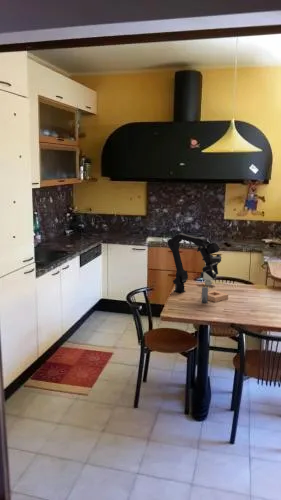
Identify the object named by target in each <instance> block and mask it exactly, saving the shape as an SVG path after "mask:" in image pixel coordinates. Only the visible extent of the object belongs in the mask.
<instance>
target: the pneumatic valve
mask: <svg viewBox="0 0 281 500" xmlns="http://www.w3.org/2000/svg"><path fill="white" fill-rule="evenodd" d="M212 271H213V270H212ZM213 275H214V279H213V278H211V277H210V276H209V275H208V274H207V273H205V272H203V271H201V272H200V278H201V279H202V280H204V285H205V286H212V284H213V282H212V281H215V279H217V275H218V274H216V273H215V272H214V271H213Z"/></svg>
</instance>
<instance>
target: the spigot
mask: <svg viewBox="0 0 281 500" xmlns="http://www.w3.org/2000/svg"><path fill="white" fill-rule="evenodd" d="M208 291H209V288H208V287H205V286H204V287H201V293H202V297H201V304H208V301H209V300H208Z"/></svg>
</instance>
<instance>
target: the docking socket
mask: <svg viewBox="0 0 281 500" xmlns="http://www.w3.org/2000/svg"><path fill="white" fill-rule="evenodd" d="M200 296H201V297H200V298H202V292H201V295H200ZM228 299H229V293H225V292H222V291H218V290H215V289H213V290H208V301H210V302H214V303H216V302H220V301H226V300H228Z"/></svg>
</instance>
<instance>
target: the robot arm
mask: <svg viewBox="0 0 281 500" xmlns="http://www.w3.org/2000/svg"><path fill="white" fill-rule="evenodd" d="M183 241H185V242H189V243H192V244H194V245H195V246H197V250H196V251H197V253H198V252H199V253H200V255H201V256H202V261H203V262H204V266H203V267H202V269H201V270H202V272H205V273H207V274H208V275H209V276H210V277H211V278H213V279H214V275H213V271H214V272H215V273H216V274H217V275H218V274H219V269H218V265H219V263H221V262H222V258H223V257H222V256H221V254H217V253H219V252H220V247H219V245H218V244H217V243H216V241H215V242H212V243H211V242H210V241H208V239H207V238H206V237H202V236H201V237H200V236H198V237H197V236H194V235H190V234H185V233H184V232H181V233H180V232H179V233H177V234H176V235H175V236H172V237H171V238H169V239H168V241H167V246H168V248H169V249H170V250H171V253H172V257H173V261H174V264H175V269H176V271H175V272H176V273H175V278H174V279H173V280H172V282H173V285H174V284H175V285H174V290H173V292H175V293H179V294H180V293H185V292H186V290H185V284H186V283H187V281H188V280H189V275H188V271H187V270H185V269H184V266H183V262H182V261H183V260H182V258H181V254H180V245H181V244H180V243H181V242H183ZM215 253H216V255H215V256H214V255H213V254H215ZM214 280H215V279H214Z"/></svg>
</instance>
